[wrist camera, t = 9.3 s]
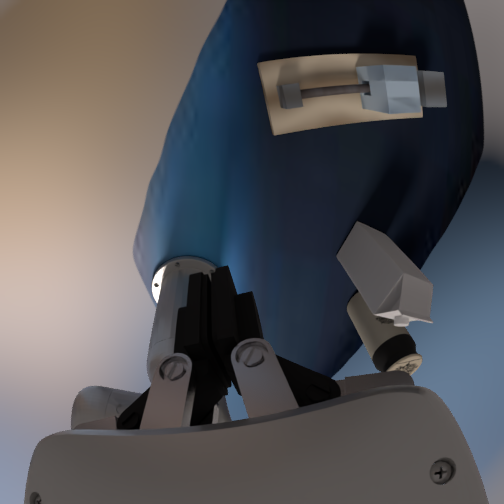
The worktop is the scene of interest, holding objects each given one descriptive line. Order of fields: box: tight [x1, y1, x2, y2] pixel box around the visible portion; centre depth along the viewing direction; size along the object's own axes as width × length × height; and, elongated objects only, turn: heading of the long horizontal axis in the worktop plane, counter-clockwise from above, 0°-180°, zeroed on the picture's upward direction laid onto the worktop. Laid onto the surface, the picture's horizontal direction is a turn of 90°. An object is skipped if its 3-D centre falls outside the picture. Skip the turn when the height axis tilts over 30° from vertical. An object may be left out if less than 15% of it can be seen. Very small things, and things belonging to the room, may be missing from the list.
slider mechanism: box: [257, 54, 447, 136], centre depth 31 cm, size 10×24×8 cm, turn 102°
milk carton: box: [336, 221, 433, 327], centre depth 39 cm, size 7×7×19 cm
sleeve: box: [356, 65, 421, 114], centre depth 29 cm, size 6×5×7 cm
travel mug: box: [347, 292, 422, 375], centre depth 47 cm, size 8×8×18 cm
